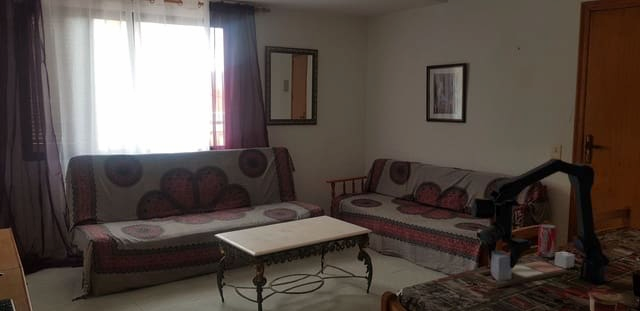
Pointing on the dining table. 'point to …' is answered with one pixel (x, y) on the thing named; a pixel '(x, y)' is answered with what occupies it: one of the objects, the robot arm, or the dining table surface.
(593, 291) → the dining table surface
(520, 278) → the board
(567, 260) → the die
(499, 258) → the medicine box
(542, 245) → the beverage can
